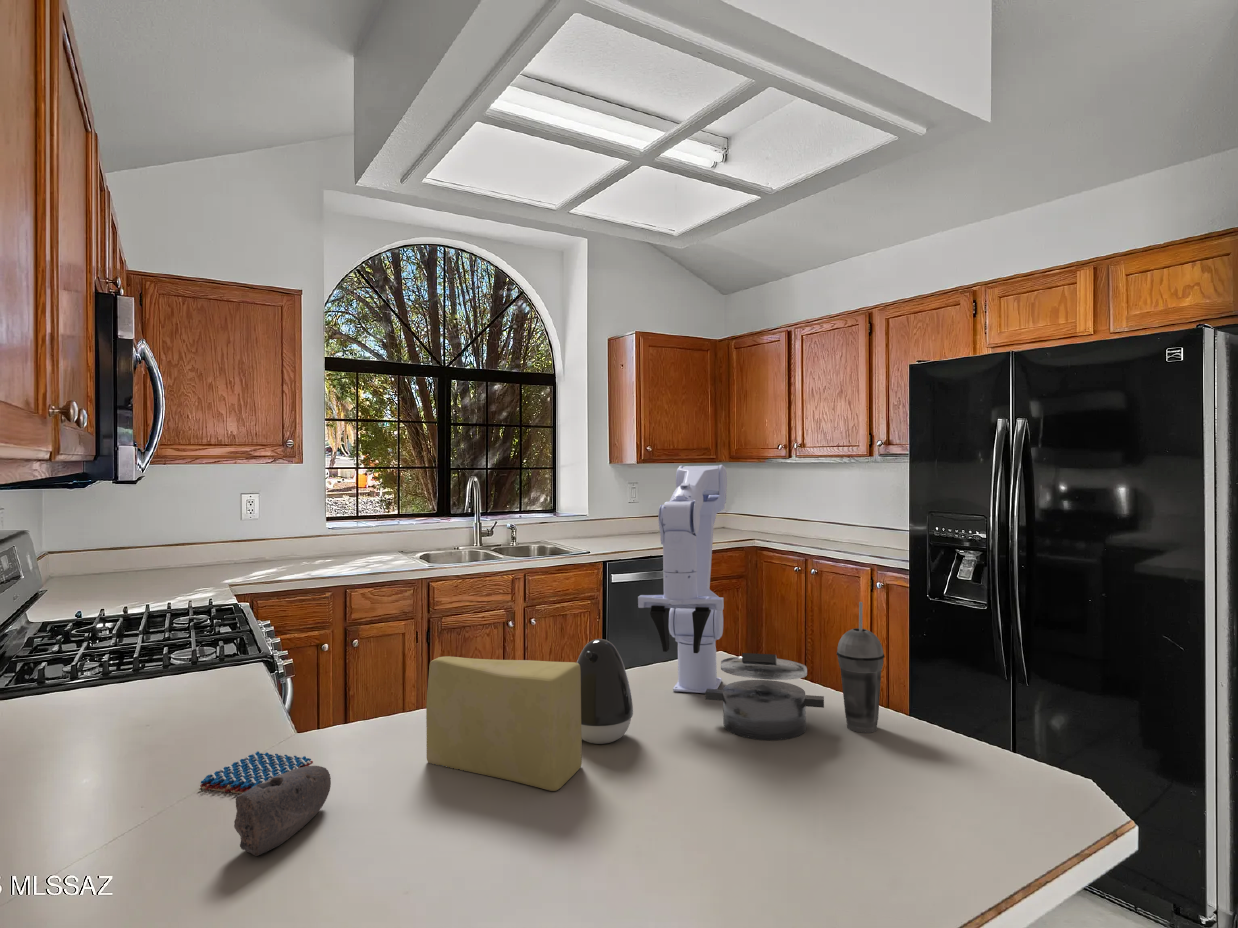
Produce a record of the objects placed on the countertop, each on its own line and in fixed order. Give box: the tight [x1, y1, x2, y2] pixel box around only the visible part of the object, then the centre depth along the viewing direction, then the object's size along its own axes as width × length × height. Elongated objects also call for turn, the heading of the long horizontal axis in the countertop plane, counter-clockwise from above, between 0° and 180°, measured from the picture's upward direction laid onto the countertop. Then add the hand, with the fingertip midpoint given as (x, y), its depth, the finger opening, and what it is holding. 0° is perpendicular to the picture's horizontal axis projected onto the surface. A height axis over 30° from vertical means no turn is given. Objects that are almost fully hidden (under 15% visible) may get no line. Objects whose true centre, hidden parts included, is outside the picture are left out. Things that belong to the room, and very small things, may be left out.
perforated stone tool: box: [233, 765, 332, 857], centre depth 82 cm, size 15×5×7 cm, turn 165°
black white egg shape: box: [576, 638, 634, 745], centre depth 111 cm, size 10×10×15 cm
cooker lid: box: [720, 652, 808, 681], centre depth 115 cm, size 15×14×2 cm
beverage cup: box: [836, 601, 886, 734], centre depth 114 cm, size 7×7×20 cm
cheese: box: [425, 656, 583, 792], centre depth 99 cm, size 22×10×15 cm, turn 71°
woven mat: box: [199, 750, 314, 795], centre depth 98 cm, size 10×11×2 cm
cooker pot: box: [704, 679, 825, 741], centre depth 115 cm, size 13×19×6 cm
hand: (681, 651), depth 122 cm, fingers open, 5 cm apart
